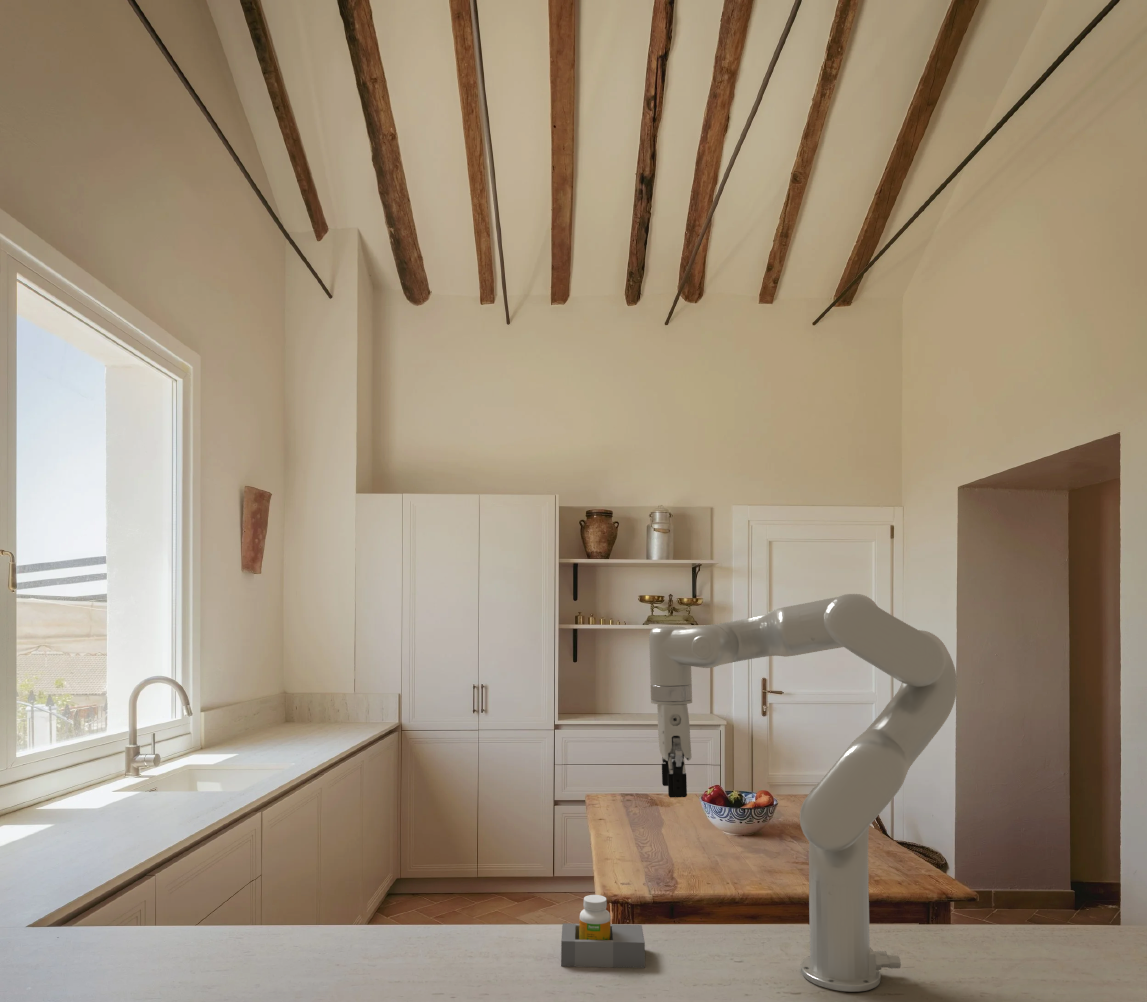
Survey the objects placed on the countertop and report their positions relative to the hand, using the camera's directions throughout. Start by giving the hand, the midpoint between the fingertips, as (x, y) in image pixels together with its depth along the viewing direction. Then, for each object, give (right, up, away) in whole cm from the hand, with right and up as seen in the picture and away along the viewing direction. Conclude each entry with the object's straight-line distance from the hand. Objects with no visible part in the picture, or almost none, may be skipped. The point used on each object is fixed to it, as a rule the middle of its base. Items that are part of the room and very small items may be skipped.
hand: (674, 791), depth 160 cm
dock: (-13, -26, -8) cm, 30 cm away
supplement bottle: (-15, -26, -8) cm, 31 cm away
